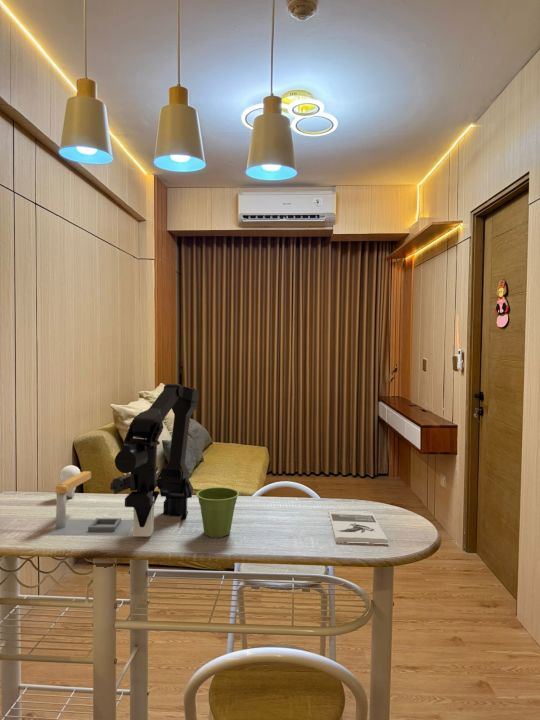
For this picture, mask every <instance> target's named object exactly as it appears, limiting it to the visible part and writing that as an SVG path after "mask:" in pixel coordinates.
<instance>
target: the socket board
mask: <svg viewBox="0 0 540 720" xmlns="http://www.w3.org/2000/svg"><path fill="white" fill-rule="evenodd" d="M55 504H56V505H55V506H56V509H55V511H56V512H55V526H54V527H53V528H52V529H50V531H49V532H48V533H46V536H129V534H130V532H131V530H132V529H133V523H134V519H122V518H120V517H119V518H113V517H112V518H111V517H110V518H109V517H108V518H107V517H105V518H100V517H99V518H95V519H80V518H79V519H75V518H73V519H72V518H71V519H66V518H67V516H66V515H67V514H66V512H67V510H66V509H67V497H66V493H65V494H56V503H55Z"/></svg>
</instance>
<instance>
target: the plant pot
mask: <svg viewBox="0 0 540 720" xmlns="http://www.w3.org/2000/svg"><path fill="white" fill-rule="evenodd" d="M195 495H196V497H197V498H198V504H199V507H200V513H201V520H202V525H203V527H202V528H203V532H204V535H206V536H208V537H209V536H210V537H209V538H213V537H214V538H217V537H220V538H223V537H224V536H225V537H226V535H227V536H229V535H230V533H231V530H232V524H233V519H234V513H235V507H236V504H237V499H238V497H239V496H240V492H239V491H238V490H237V489H235V488H232V487H223V486H219V487H217V486H216V487H215V486H214V487H207V488H203V489H201V490H200V489H199V490H198V491H197V492H196V494H195Z"/></svg>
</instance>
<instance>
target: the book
mask: <svg viewBox="0 0 540 720" xmlns="http://www.w3.org/2000/svg"><path fill="white" fill-rule="evenodd" d="M328 514H329V516H328V519H329V518H330V520H329V523H330V522H331V524H330V527H331V526H332V528H331V531H332V530H333V531H332V535H333V534H334V535H333V538H335V539H334V541H335V542H369V543H389V542H388V541H389V540H388V538H387V536H386V534H385V533H384V530H383V529H382V528H381V525H380V524H379V522H378V520H377V518H376V516H375V515H374V513H373V511H363V510H361V511H360V510H339V509H338V510H333V509H329V510H327V515H328Z"/></svg>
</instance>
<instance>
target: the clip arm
mask: <svg viewBox="0 0 540 720" xmlns="http://www.w3.org/2000/svg"><path fill="white" fill-rule="evenodd" d="M80 472H81V471H80ZM90 479H92V471H85V470H84V471H82V472H81V473H79V474H77V475H76V476H74V477H72V478H70V479H68V480H66V481H64V482H60V483H57V484H55V494H56V495H57V494H65V493H67V492H68V491H70V490H71V489H73V488H75V487H76V488H77V487H78V486H80V485H81V484H83V483H85V482H87V481H88V480H90ZM76 488H75V489H76Z"/></svg>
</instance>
